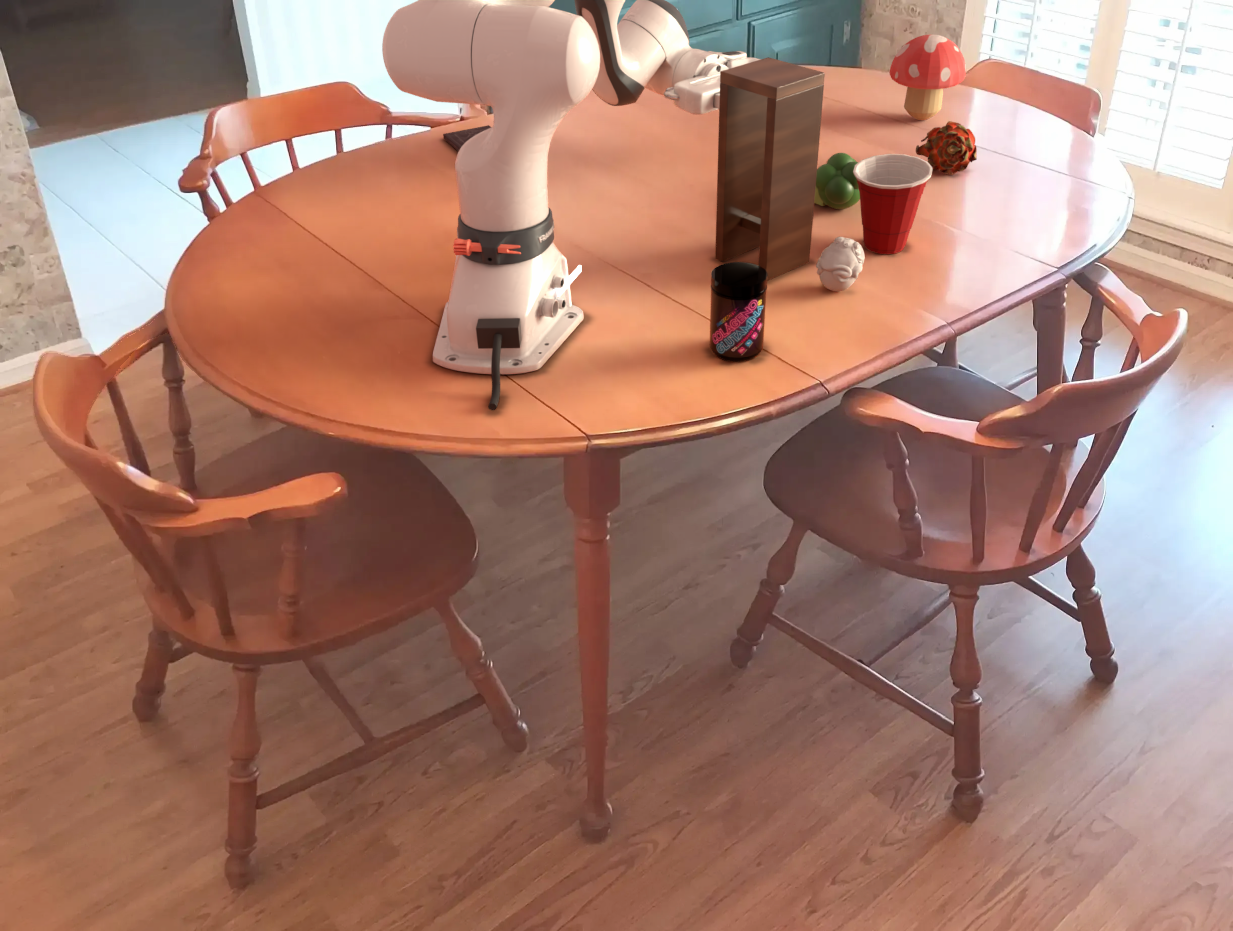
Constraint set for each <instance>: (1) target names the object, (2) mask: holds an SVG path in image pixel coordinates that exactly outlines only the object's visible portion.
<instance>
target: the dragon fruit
mask: <svg viewBox="0 0 1233 931" xmlns="http://www.w3.org/2000/svg"><path fill="white" fill-rule="evenodd" d="M925 141H926V142H925ZM920 142H921V143H922V142H925V143H923V144H921V145H918V144H917V145H916V147H915V154H916V156H917V155H918V156H923V157H925V158H927V160H926V161H927V162H928V163H929V164H930V165H931V166H932V168H933V169H932V171H939V172H941V173H942V174H946V175H950V176H953V175H955V174H956V173H959V172H960V173H961V172H963V171H965V170H967V168H968V166H969V164H970V163H973V162H974V161H977V159H978V158H977V156H978V155H977V153H978V152H977V151H978V149H977V146H976V136H975V135H974V133H973V132H972V130H971V129H970V128H966V127H965V125H962V124H961V123H959V122H957V121H952V120H951V121H949V120H948V121H947V123H946V124H945V125H943V126H942V127H940V126H937V127H933V128H932V129H931V130H929V131H928V132H926V136H925V137H923V138H922V139H921V140H920Z"/></svg>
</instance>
